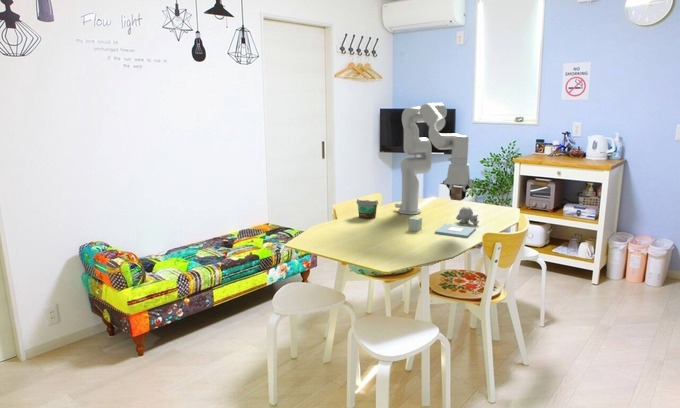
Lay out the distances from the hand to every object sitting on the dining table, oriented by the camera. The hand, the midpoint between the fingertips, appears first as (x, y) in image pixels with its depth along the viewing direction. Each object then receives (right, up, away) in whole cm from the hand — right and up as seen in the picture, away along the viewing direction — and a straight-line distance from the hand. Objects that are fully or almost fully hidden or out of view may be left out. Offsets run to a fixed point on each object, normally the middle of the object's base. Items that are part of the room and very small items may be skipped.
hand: (457, 197), depth 245 cm
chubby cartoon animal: (+10, -14, +19) cm, 26 cm away
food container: (-43, -11, +30) cm, 54 cm away
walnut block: (0, -1, 0) cm, 1 cm away
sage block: (-20, -16, +7) cm, 26 cm away
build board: (0, -17, +4) cm, 17 cm away
